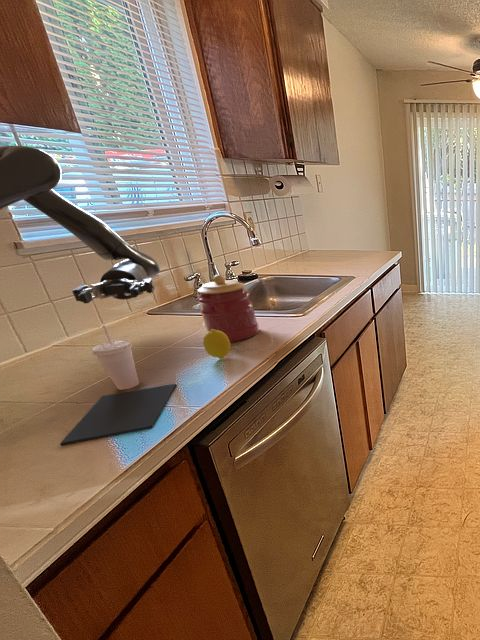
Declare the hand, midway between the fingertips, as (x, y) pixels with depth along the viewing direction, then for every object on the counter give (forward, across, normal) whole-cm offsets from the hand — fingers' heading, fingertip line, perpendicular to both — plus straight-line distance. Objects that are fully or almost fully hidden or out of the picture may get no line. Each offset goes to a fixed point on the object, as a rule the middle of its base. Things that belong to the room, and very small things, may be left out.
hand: (108, 296), depth 90 cm
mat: (+25, +2, +18) cm, 31 cm away
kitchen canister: (-13, +21, +18) cm, 30 cm away
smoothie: (+11, 0, +18) cm, 21 cm away
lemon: (+5, +18, +18) cm, 26 cm away
